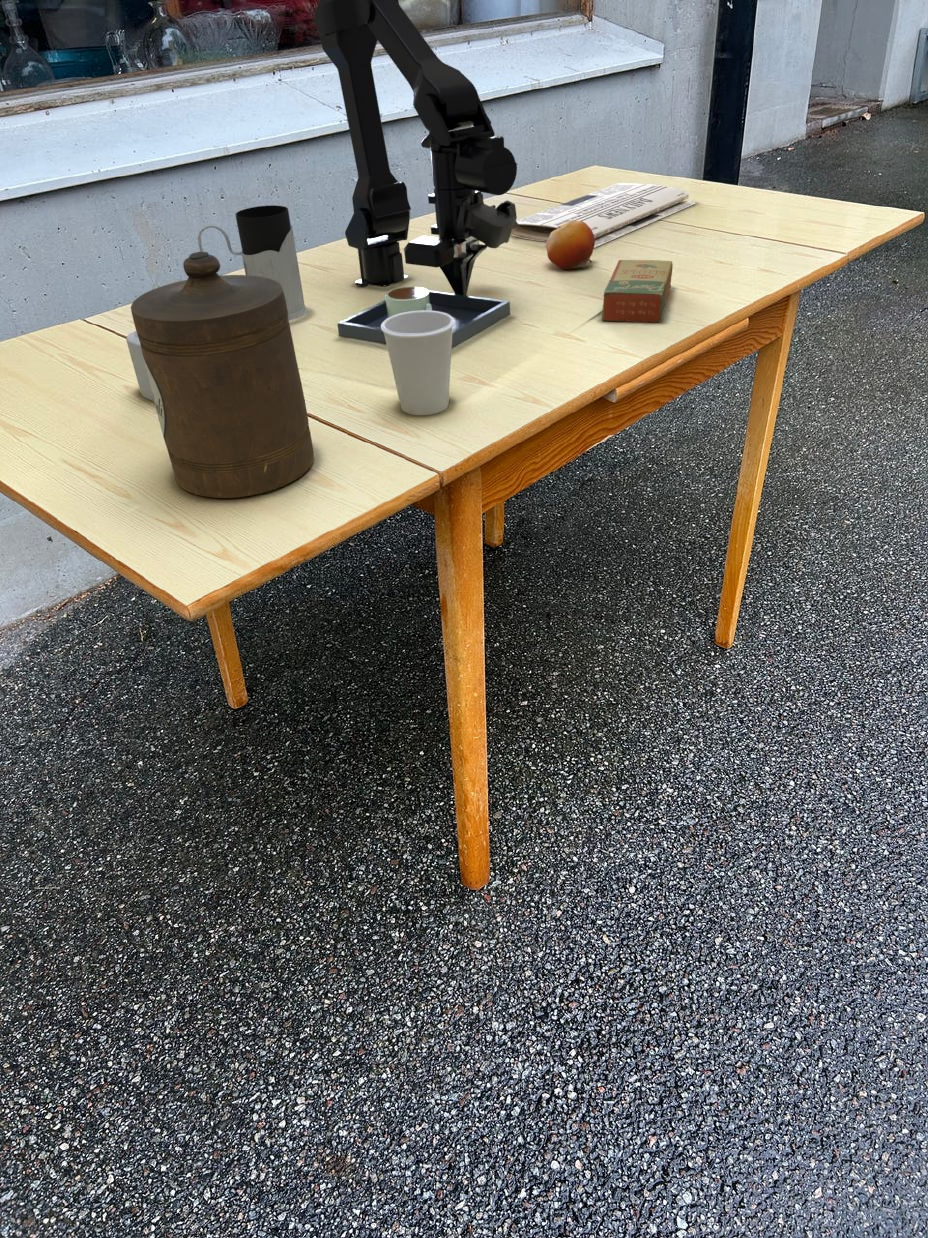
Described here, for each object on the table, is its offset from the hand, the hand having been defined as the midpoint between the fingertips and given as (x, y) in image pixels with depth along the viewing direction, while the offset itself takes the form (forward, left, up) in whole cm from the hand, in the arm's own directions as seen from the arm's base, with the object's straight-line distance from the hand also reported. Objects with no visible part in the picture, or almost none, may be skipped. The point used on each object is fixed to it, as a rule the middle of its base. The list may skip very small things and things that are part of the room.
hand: (461, 298), depth 138 cm
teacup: (0, -13, -1) cm, 13 cm away
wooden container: (+8, -54, -2) cm, 55 cm away
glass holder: (-26, -16, -2) cm, 31 cm away
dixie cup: (+16, -32, -2) cm, 36 cm away
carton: (+23, +12, -2) cm, 26 cm away
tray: (0, -9, -2) cm, 10 cm away
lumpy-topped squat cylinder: (-14, -41, -2) cm, 43 cm away
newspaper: (-5, +56, -2) cm, 56 cm away
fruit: (+4, +26, -2) cm, 27 cm away
